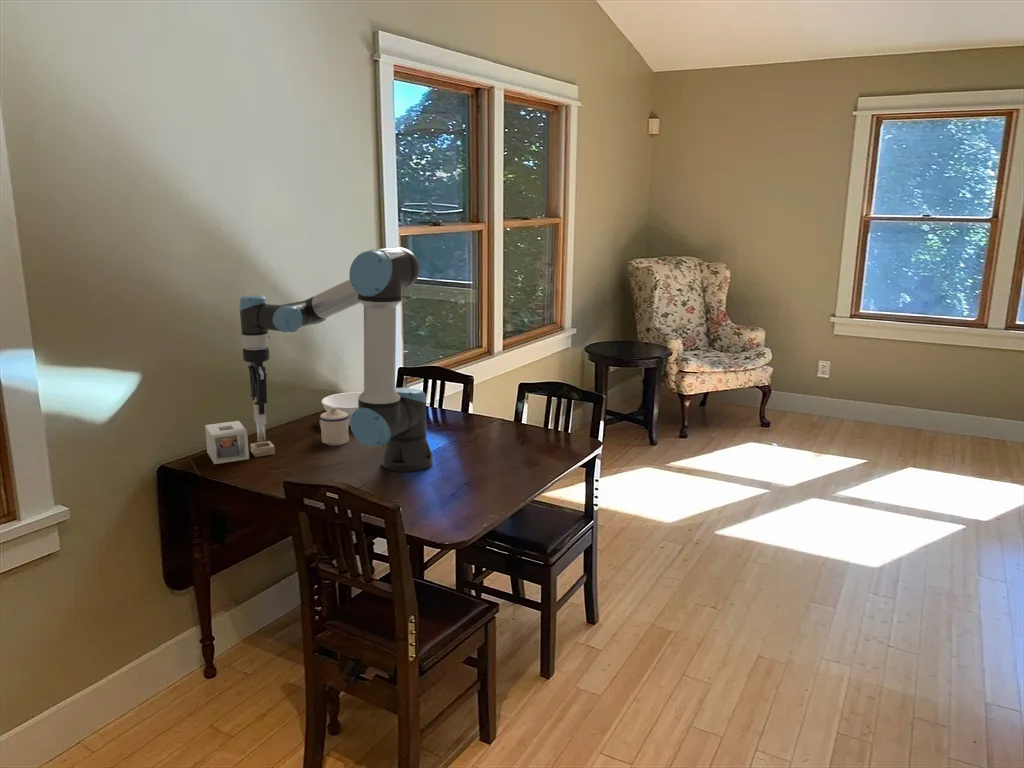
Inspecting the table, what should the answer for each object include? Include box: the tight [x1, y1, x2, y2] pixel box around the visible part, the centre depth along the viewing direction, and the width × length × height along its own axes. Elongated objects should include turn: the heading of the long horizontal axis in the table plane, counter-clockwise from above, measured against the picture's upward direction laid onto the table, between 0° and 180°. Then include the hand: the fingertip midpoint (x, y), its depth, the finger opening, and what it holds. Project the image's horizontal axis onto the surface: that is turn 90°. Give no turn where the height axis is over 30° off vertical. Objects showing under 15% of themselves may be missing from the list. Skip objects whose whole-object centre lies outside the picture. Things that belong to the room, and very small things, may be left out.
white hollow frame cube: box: [204, 420, 250, 465], centre depth 240 cm, size 12×10×9 cm
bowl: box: [321, 391, 362, 426], centre depth 278 cm, size 21×21×8 cm
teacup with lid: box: [319, 407, 350, 447], centre depth 256 cm, size 12×9×12 cm
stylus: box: [255, 397, 267, 443], centre depth 241 cm, size 2×2×14 cm
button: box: [221, 437, 233, 448], centre depth 240 cm, size 3×3×4 cm
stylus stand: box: [250, 440, 276, 458], centre depth 244 cm, size 6×6×3 cm
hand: (260, 422), depth 241 cm, fingers closed on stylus, 2 cm apart
